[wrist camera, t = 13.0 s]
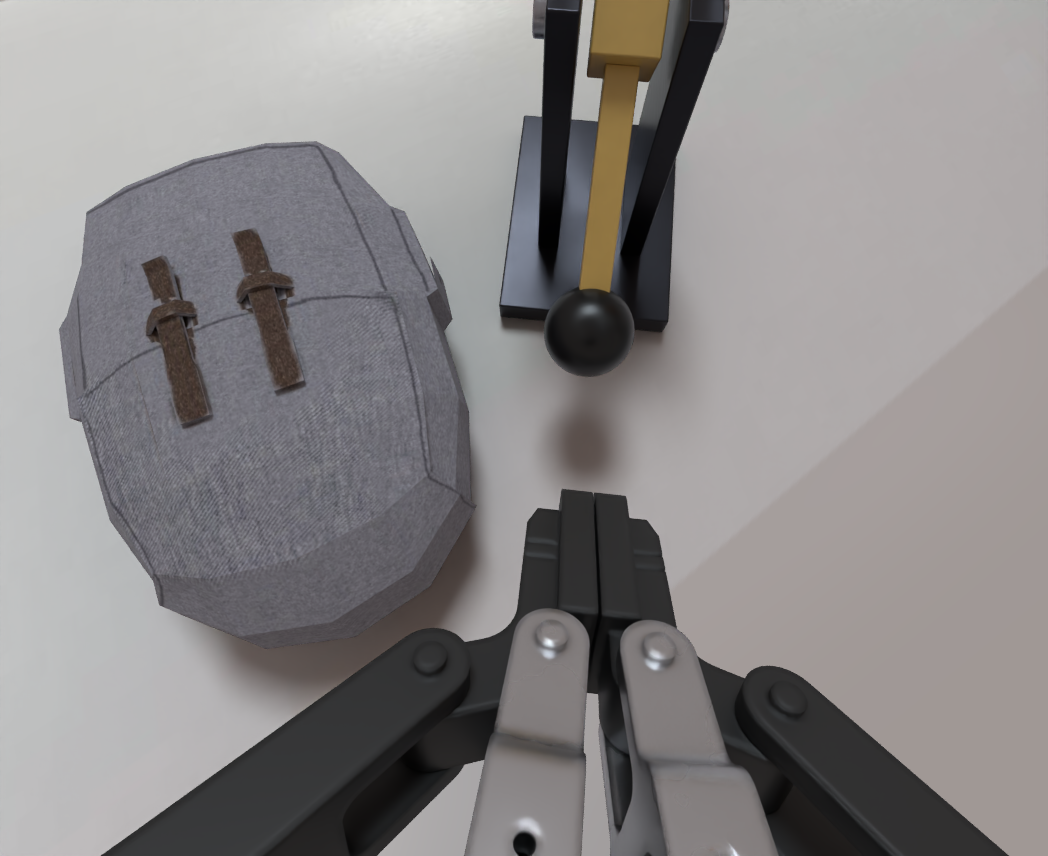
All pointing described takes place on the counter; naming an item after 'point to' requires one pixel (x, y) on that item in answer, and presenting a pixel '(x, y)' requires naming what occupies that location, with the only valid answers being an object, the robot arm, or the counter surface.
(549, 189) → the lock bracket
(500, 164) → the counter surface
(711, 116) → the counter surface
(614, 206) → the lever
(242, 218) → the soft grey pack
